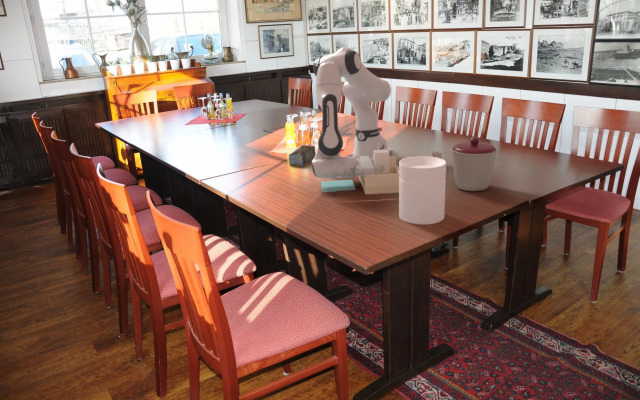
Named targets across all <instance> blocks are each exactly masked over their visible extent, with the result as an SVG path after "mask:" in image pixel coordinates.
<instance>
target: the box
mask: <svg viewBox="0 0 640 400" xmlns="http://www.w3.org/2000/svg"><path fill="white" fill-rule="evenodd" d="M389 157H390V152H389V151H388V150H373V158H374V167H379V166H384V167H385V170H384V171H379V172H375V174H389Z"/></svg>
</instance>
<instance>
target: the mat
mask: <svg viewBox="0 0 640 400" xmlns="http://www.w3.org/2000/svg"><path fill="white" fill-rule="evenodd" d="M320 186H321V193H322V192H324V193H336V192H337V191H339V192H340V191H354V190H355V191H356V187H355V184H354V180H353V179H342V180H341V179H339V180H320Z"/></svg>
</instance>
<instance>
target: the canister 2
mask: <svg viewBox="0 0 640 400" xmlns="http://www.w3.org/2000/svg"><path fill="white" fill-rule="evenodd" d="M450 150H451V152H452V164H453V176H454V183H455V185H456V187H457V188H458V189H460V190H462V191H467V192H482V191H484V190H486V189H488V187H490V184H491V180H492V176H493V172H494V166H495V161H496V154H497V152H498V151H499V149H498V147H497V146H495V145H493V144H491V143H488V142H483V141H480V138H479V137H477V136H472V137H471V138H470V139H469V141H463V142H459V143H456V144H455V145H453V146H451V147H450Z"/></svg>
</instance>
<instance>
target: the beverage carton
mask: <svg viewBox="0 0 640 400" xmlns="http://www.w3.org/2000/svg"><path fill="white" fill-rule="evenodd" d="M315 155H316V146H315V145H301V146H299V147H298V148H296V149H295V150H294V151H292V152H291V153H289V154H288V165H289V166H290V165H299V166H298V167H304V166H305V164H306V165H307V164H309V161H310V160H311V161H312V160H313V159H314V157H315ZM311 161H310V162H311Z"/></svg>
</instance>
